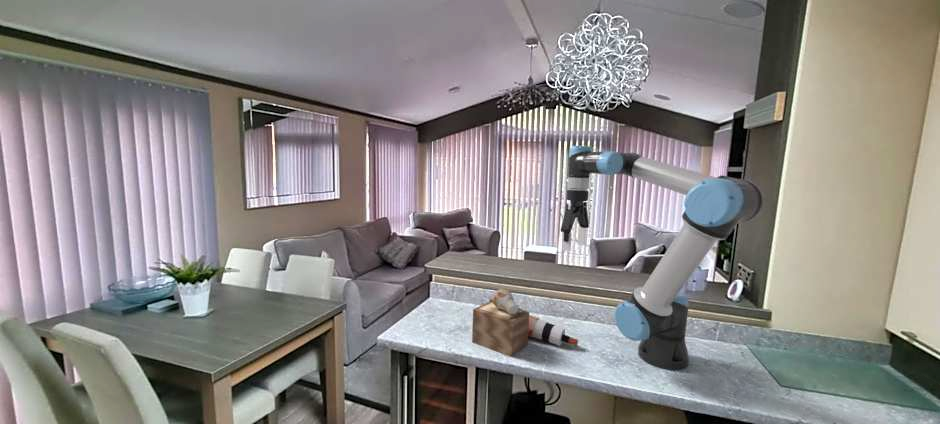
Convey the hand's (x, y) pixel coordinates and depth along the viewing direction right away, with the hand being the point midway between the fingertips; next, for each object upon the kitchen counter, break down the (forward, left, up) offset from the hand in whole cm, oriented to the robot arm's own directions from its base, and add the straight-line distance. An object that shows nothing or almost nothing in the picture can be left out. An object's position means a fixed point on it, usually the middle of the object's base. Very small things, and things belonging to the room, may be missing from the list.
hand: (574, 247), depth 142 cm
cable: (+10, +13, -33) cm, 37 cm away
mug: (+12, +25, -20) cm, 34 cm away
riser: (+15, +25, -33) cm, 44 cm away
